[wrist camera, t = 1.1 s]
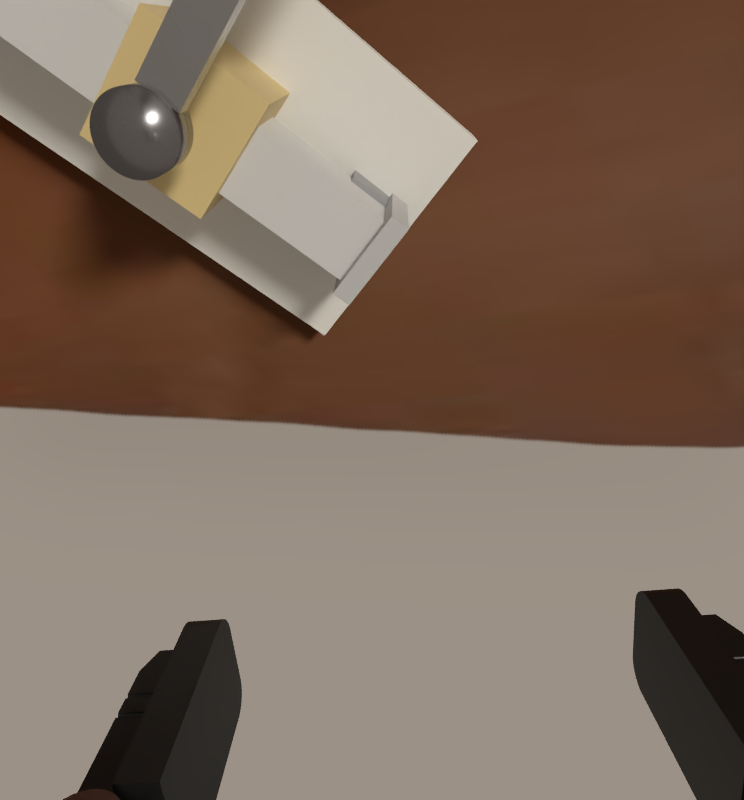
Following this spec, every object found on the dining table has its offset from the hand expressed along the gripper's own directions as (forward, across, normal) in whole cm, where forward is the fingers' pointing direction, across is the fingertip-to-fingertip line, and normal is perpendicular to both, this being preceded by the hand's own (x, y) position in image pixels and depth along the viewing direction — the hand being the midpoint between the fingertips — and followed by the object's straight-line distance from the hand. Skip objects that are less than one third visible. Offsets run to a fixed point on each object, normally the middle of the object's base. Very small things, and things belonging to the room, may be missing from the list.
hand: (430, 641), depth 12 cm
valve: (+26, +9, -14) cm, 31 cm away
